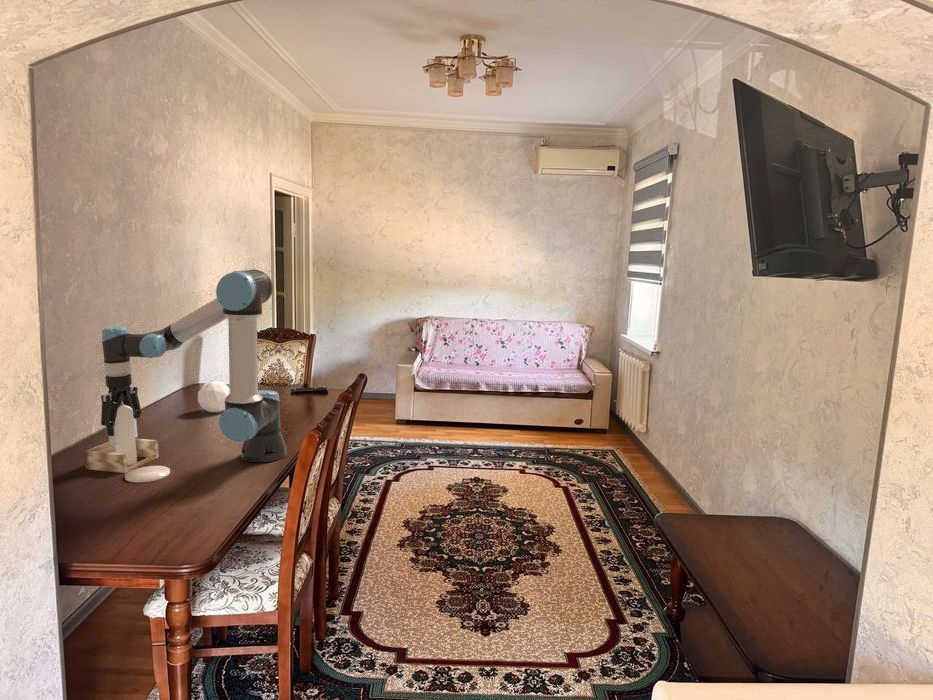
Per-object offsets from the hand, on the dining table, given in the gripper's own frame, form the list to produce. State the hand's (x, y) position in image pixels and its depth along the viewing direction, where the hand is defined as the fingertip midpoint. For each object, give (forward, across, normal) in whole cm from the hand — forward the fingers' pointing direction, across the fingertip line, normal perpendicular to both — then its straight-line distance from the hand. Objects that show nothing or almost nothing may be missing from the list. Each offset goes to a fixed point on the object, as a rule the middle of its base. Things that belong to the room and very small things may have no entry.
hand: (123, 440), depth 218 cm
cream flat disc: (+8, +8, +15) cm, 19 cm away
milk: (+8, 0, 0) cm, 8 cm away
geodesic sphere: (+8, -66, -10) cm, 67 cm away
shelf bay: (+8, 0, -1) cm, 8 cm away
